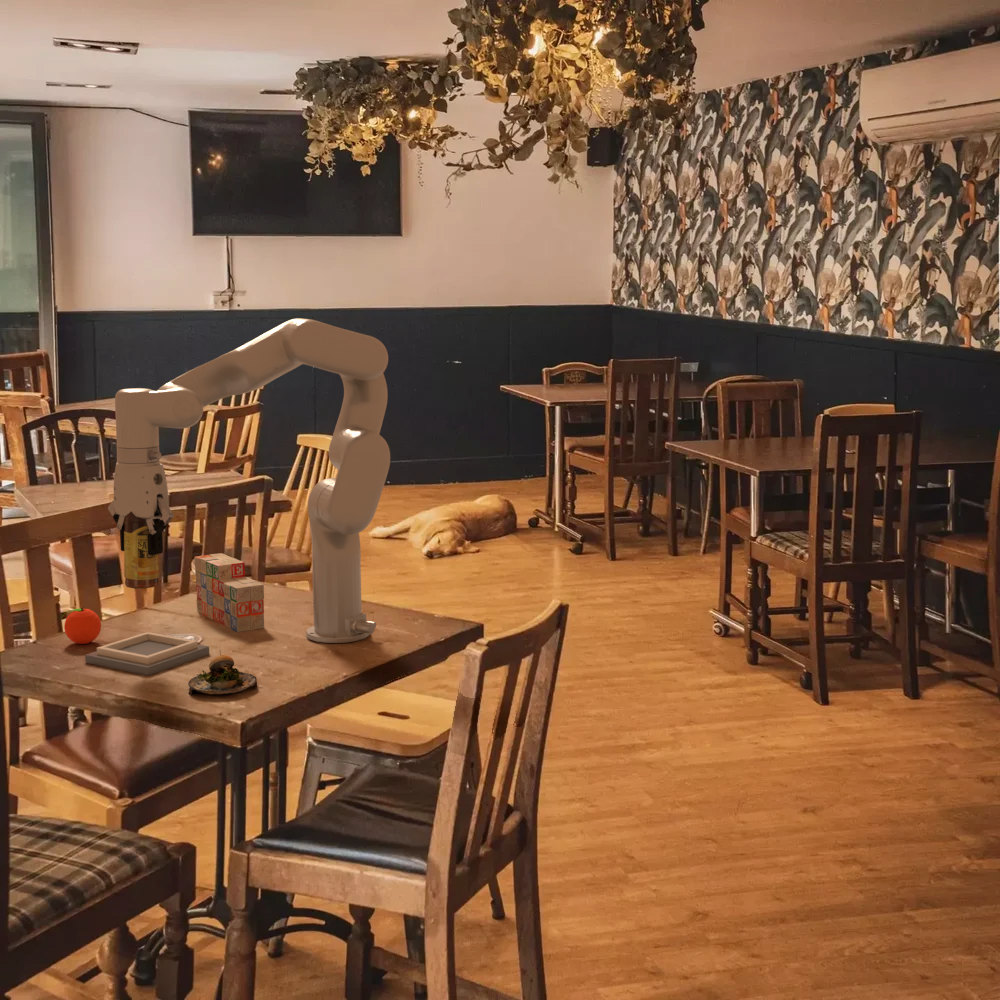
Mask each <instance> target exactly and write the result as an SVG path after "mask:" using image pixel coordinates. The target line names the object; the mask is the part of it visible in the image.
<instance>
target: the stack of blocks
mask: <svg viewBox="0 0 1000 1000" xmlns="http://www.w3.org/2000/svg"><path fill="white" fill-rule="evenodd" d="M245 564H246V563H245V562H244V561H243V560H239V559H237V558H236V557H235V558H234V557H231V556H228V555H226V554H225V553H222V552H221V553H211V554H206V555H199V556H198V555H196V556H194V570H195V571H194V572H195V573H194V577H195V588H196V608H197V609H196V610H197V612H198V613H200V614H202V615H203V616H205V617H207V618H209V620H213V621H215V622H217V623H219V624H222V625H223V626H225V627H227V628H229V629H230V630H232V631H234V632H236V633H240V632H246V631H253V630H259V629H264V628H265V617H264V616H265V615H264V614H265V600H264V598H265V588H264V587H265V586H264V583H262V582H259V581H257V580H255V579H252V578H250V577H248V576H246V567H245Z"/></svg>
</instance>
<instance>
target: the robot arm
mask: <svg viewBox="0 0 1000 1000" xmlns="http://www.w3.org/2000/svg"><path fill="white" fill-rule="evenodd" d="M388 363H389V353H388V350H387V348H386V346H385V345H384V343H382V341H381V340H379V339H377V338H376V337H374V336H372V335H367V334H365V333H361V332H356V331H352V330H349V329H346V328H345V329H344V328H341V327H338V326H334V325H331V324H328V323H326V322H325V323H324V322H321V321H318V320H315V319H312V318H311V319H309V318H302V317H301V318H299V317H298V318H297V317H296V318H292V319H289V320H287V321H285V322H283V323H281V324H278V325H277V326H275V327H273V328H272V329H270V330H268V331H266V332H264V333H263V334H261V335H259V336H257V337H255V338H254V339H252V340H250V341H247V342H245V343H244V344H243V345H241V346H239V347H237V348H234V349H233V350H231V351H228V352H227V353H224V354H222V355H219V356H218V357H216V358H214V359H212V360H209V361H208V362H206V363H203V364H201V365H198V366H196V367H194V368H193V369H191V370H188V371H186V372H185V373H182V374H181V375H179V376H177V377H175V378H174V379H171V380H170V381H169V382H166V383H165V384H163V385H162V386H160V387H159V388H158V389H157V390H153V389H150V388H144V387H143V388H142V387H138V388H137V387H136V388H134V387H133V388H123V389H119V390H118V391H117V392H116V393H115V397H114V406H115V407H114V409H115V410H114V411H115V436H116V437H115V438H116V459H117V461H116V463H115V469H114V475H113V476H114V478H113V500H112V501H111V502H110V504H109V505H108V506H107V510H108V512H109V513H110V515H111V516H112V518H113V521H114V522H115V523H116V528H117V530H118V531H119V537H120V538H119V541H120V543H119V544H120V546H119V547H120V551H121V552H124V530H125V516H126V515H127V514H129V513H130V512H132V513H133V514H134V515H135V516H136V517H139V518H142V519H146V522H147V525H148V528H149V531H150V533H151V534H148V536H147V537H148V554H149V555H151V556H152V555H156V554H159V555H160V554H163V553H164V545H163V544H164V543H163V540H164V538H163V533H165V532H166V528H167V527H168V525H169V523H170V522H172V520H173V518H174V516H175V515H174V512H173V511H172V510H171V508H170V499H169V498H170V497H169V490H168V489H169V488H168V482H167V481H168V480H167V476H166V472H165V468H164V465H163V463H161V462H160V461H161V460H160V459H161V458H162V453H161V452H160V435H159V433H160V432H159V428H171V429H179V430H181V429H188V428H192V427H194V426H195V425H196V424H198V422H199V421H200V420H201V419H202V417H203V414H204V408H205V407H207V406H209V405H211V404H213V403H215V402H217V401H220V400H223V399H225V398H228V397H231V396H238V395H243V394H244V395H245V394H247V393H248V394H249V393H251V392H253V391H256V390H259V389H260V388H263V387H264V386H266V385H268V384H269V383H271V382H273V381H274V380H276V379H278V378H280V377H281V376H284V375H285V374H287V373H289V372H291V371H293V370H294V369H297V368H298V367H300V366H301V365H306V366H309V367H313V368H317V369H319V370H321V371H322V370H323V371H327V372H330V373H334V374H337V375H339V376H340V379H341V381H342V384H343V399H342V403H341V408H340V412H339V415H338V419H337V422H336V424H335V428H334V431H333V434H332V437H331V440H330V443H329V446H328V447H329V448H328V459H329V461H330V463H331V465H332V466H333V467H334V468H335V469H336V470H338V471H337V475H336V477H329V478H325V479H322V480H320V481H319V482H317V483H316V484H315V485H314V486H313V487H312V489H311V491H310V493H309V495H308V500H307V513H308V514H307V515H308V521H309V527H310V528H309V529H310V535H311V538H310V539H311V563H312V569H311V571H312V572H311V573H312V598H313V599H312V601H313V603H312V604H313V605H312V606H313V607H312V608H313V609H312V611H313V625H312V626H310V627H308V628H307V629H306V631H305V635H306V638H307V639H308V640H311V641H313V642H318V643H325V644H342V643H344V644H345V643H351V642H352V643H353V642H357V641H358V642H359V641H361V640H364V639H366V638H367V637H369V636H370V635H371V634H373V633H374V632H375V629H376V628H377V623H376V622H375V621H368V620H367V613H365V612H362V611H363V610H362V571H361V570H362V565H361V564H362V563H361V562H362V561H361V559H362V558H361V554H362V553H361V549H362V548H361V538H360V533H362V531H364V530H366V529H367V527H368V526H369V525H370V524H371V523H372V521H373V519H374V517H375V515H376V511H377V509H378V506H379V503H380V499H381V496H382V493H383V489H384V486H385V483H386V481H387V476H388V473H389V470H390V466H391V451H390V446H389V444H388V443H387V440H386V439H385V438H383V436H382V435H380V433H381V429H382V425H383V421H384V419H385V418H384V417H385V414H386V409H387V405H388V397H389V396H388V384H387V382H386V381H387V380H386V377H385V374H384V373H385V370H386V369H387V367H388ZM153 520H155V521H156V525H154V522H153Z"/></svg>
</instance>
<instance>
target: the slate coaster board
mask: <svg viewBox="0 0 1000 1000" xmlns="http://www.w3.org/2000/svg"><path fill="white" fill-rule="evenodd" d="M198 643H199V642H198V640H193V639H187V638H183V637H177V636H173V635H172V636H171V635H166V634H160V633H155V632H150V631H147V632H142V633H139V634H136V635H134V636H130V637H126V638H124V639H120V640H117V641H114V642H111V643H107V644H105V645H102V646H98V647H96V651H93V652H89V653H86V654H85V655H84V660H85V662H86V664H90V665H91V664H92V665H96V666H99V667H100V666H101V667H105V668H110V669H115V670H119V671H125V672H129V673H132V674H133V673H134V674H138V675H143V676H150V675H153V674H156V673H159V672H162V671H165V670H168V669H171V668H174V667H176V666H180V665H182V664H186V663H189V662H191V661H194V660H196V659H200V658H202V657H204V656H207V655H210V646H209V645H204V644H198ZM85 662H84V663H85Z"/></svg>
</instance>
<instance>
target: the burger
mask: <svg viewBox="0 0 1000 1000" xmlns="http://www.w3.org/2000/svg"><path fill="white" fill-rule="evenodd" d="M234 666H235V660H234V659H233V658H232V657H231V656H229V655H227V654H222V653H221V651H219V655H217V656H215V657H213V658H212V659H211V661H210V662H209V665H208V668H209V671H208V672H207V671H205V670H202V673H199V674H198V673H197V674H196V676H194V677H192V678H191V679H189V680H188V683H187V684H188V687H189V688H188V692H187V693H188V694H189V695H190V696H192V694H193V690H194V691H195V692H199V693H202V694H207V695H226V694H227V695H228V694H235V693H238V692H242V691H244V690H246V689H248V688H250V687H253V686H254V689H258V679H257V676H255V675H254V674H250V673H247V672H243V671H239V669H238V668H236V667H234Z"/></svg>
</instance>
